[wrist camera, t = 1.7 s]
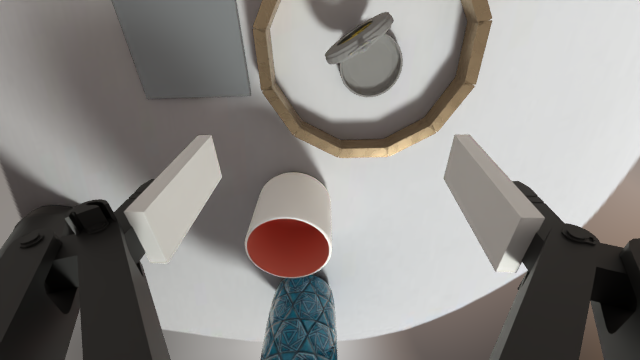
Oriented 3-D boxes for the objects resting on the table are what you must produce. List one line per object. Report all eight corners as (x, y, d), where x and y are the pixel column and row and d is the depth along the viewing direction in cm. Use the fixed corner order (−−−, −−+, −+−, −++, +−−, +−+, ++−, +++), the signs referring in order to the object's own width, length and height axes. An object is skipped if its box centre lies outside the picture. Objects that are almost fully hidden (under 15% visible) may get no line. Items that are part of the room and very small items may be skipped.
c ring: (274, 149, 37) (271, 159, 35) (243, -81, 25) (236, -88, 23) (450, 146, 36) (457, 155, 34) (506, -93, 24) (522, -102, 22)
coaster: (149, 97, 34) (147, 98, 33) (105, -29, 27) (100, -30, 27) (251, 94, 33) (250, 96, 33) (230, -35, 27) (228, -35, 26)
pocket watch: (380, 103, 34) (398, 140, 25) (314, 73, 32) (310, 101, 24) (421, 32, 30) (459, 47, 21) (348, -8, 28) (357, -9, 19)
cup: (254, 170, 39) (235, 218, 31) (328, 166, 38) (329, 214, 30) (267, 225, 44) (253, 279, 36) (332, 223, 44) (333, 277, 35)
